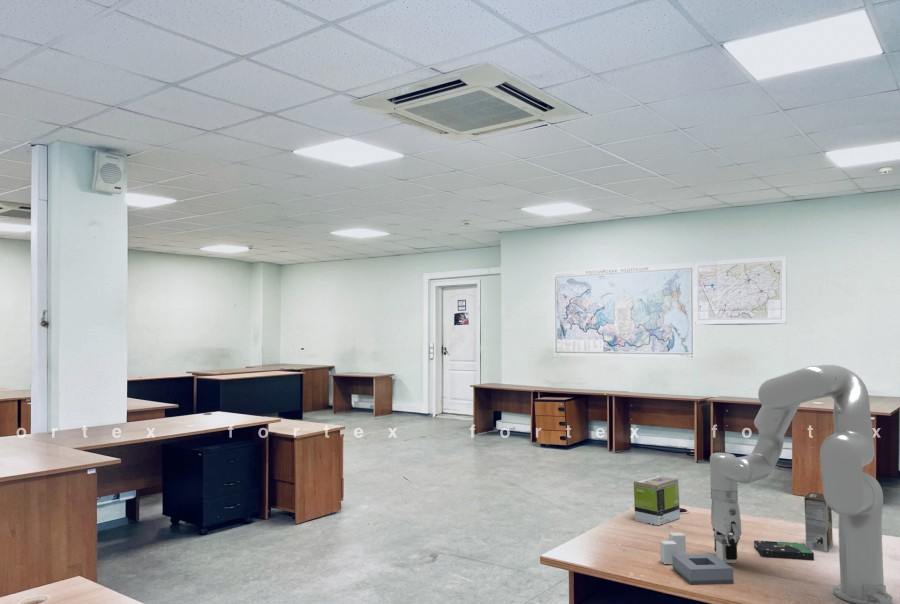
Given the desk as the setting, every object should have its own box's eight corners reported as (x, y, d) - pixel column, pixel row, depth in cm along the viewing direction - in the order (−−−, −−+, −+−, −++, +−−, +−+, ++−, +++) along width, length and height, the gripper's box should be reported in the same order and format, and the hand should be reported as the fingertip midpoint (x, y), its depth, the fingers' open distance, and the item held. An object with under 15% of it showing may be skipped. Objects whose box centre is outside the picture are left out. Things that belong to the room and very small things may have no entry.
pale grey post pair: (697, 564, 193) (696, 543, 193) (664, 565, 192) (664, 544, 192) (681, 552, 204) (681, 532, 204) (650, 552, 203) (650, 533, 203)
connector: (736, 562, 194) (735, 538, 194) (722, 563, 194) (722, 539, 194) (729, 558, 198) (728, 534, 198) (716, 558, 198) (715, 534, 198)
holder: (733, 583, 177) (733, 568, 178) (690, 584, 177) (690, 569, 177) (712, 567, 189) (712, 553, 190) (672, 569, 189) (672, 554, 189)
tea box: (656, 513, 249) (655, 474, 250) (680, 519, 241) (679, 478, 242) (633, 520, 239) (633, 480, 240) (658, 526, 232) (657, 484, 233)
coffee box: (811, 541, 214) (809, 491, 215) (833, 545, 210) (831, 494, 211) (805, 548, 207) (803, 497, 208) (828, 552, 203) (826, 500, 204)
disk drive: (762, 559, 199) (815, 562, 196) (761, 550, 199) (814, 552, 196) (753, 548, 209) (804, 551, 206) (753, 540, 209) (803, 542, 206)
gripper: (751, 501, 189) (753, 565, 188) (722, 488, 206) (723, 546, 205) (726, 502, 188) (727, 565, 187) (699, 488, 205) (700, 546, 204)
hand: (725, 554), depth 196 cm, fingers open, 6 cm apart
